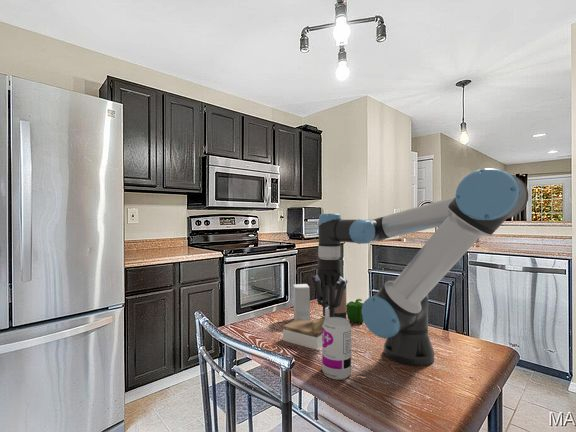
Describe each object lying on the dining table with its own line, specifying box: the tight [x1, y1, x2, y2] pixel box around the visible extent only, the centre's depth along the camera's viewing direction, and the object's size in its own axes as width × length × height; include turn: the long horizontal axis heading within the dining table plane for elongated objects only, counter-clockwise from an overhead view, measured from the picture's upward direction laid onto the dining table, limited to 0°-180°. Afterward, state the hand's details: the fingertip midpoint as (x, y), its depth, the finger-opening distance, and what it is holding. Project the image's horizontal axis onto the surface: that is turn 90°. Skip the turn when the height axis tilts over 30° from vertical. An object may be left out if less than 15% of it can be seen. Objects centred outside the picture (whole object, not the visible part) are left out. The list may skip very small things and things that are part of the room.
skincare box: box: [292, 283, 311, 321], centre depth 134 cm, size 8×7×16 cm
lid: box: [282, 316, 325, 336], centre depth 112 cm, size 14×10×4 cm
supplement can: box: [321, 317, 352, 380], centre depth 89 cm, size 8×8×15 cm
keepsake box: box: [282, 328, 322, 350], centre depth 112 cm, size 14×10×4 cm
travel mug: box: [334, 281, 347, 319], centre depth 121 cm, size 8×8×20 cm
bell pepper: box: [346, 298, 364, 323], centre depth 134 cm, size 8×8×10 cm
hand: (328, 326), depth 107 cm, fingers closed
